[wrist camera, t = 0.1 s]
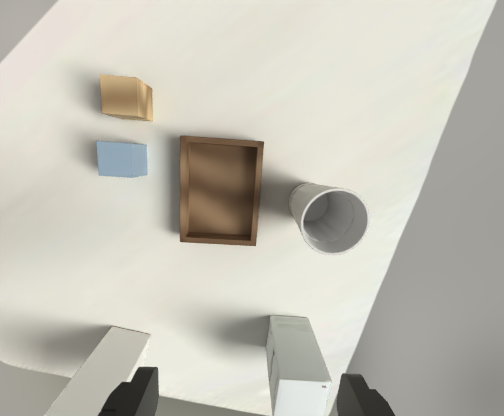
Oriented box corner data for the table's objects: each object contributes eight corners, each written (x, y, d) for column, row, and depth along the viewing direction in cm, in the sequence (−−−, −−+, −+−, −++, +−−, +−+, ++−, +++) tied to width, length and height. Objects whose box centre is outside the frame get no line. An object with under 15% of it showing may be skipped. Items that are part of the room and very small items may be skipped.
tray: (186, 137, 36) (180, 135, 32) (262, 142, 36) (263, 141, 33) (185, 234, 39) (180, 242, 36) (254, 238, 40) (255, 246, 36)
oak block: (120, 86, 34) (99, 74, 29) (152, 88, 34) (136, 77, 29) (122, 118, 35) (102, 113, 30) (152, 121, 35) (138, 115, 30)
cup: (334, 220, 39) (372, 249, 28) (287, 229, 39) (305, 260, 28) (329, 173, 38) (367, 182, 26) (280, 182, 38) (296, 194, 26)
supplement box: (269, 313, 43) (279, 378, 31) (309, 317, 43) (334, 381, 31) (264, 347, 44) (271, 421, 32) (302, 350, 45) (324, 424, 33)
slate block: (116, 142, 36) (96, 140, 31) (146, 145, 36) (131, 143, 31) (118, 172, 37) (98, 175, 32) (147, 174, 37) (132, 177, 32)
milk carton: (106, 356, 44) (5, 504, 25) (112, 325, 42) (10, 457, 24) (144, 364, 45) (72, 514, 26) (151, 333, 43) (81, 468, 25)
